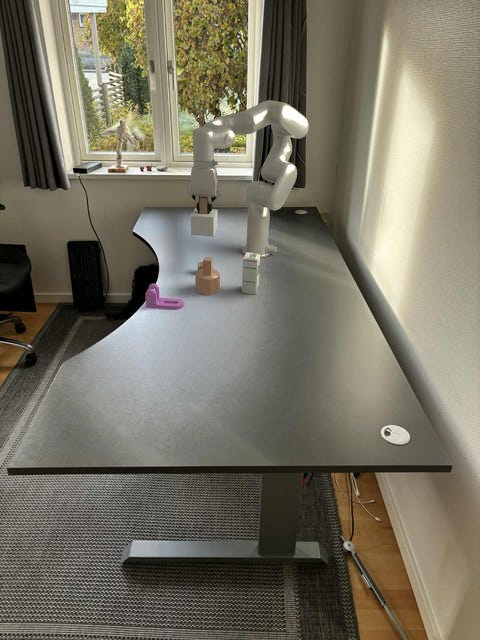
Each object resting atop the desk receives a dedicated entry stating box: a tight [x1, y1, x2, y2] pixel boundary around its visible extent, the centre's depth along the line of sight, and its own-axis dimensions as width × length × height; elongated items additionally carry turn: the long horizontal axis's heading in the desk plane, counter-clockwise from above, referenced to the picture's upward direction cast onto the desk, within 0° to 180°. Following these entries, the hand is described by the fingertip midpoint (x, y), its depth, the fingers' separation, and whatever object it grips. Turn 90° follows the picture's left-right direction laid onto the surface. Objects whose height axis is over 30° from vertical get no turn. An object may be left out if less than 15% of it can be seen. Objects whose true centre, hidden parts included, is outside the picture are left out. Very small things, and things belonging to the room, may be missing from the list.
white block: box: [190, 195, 218, 237], centre depth 189 cm, size 9×9×14 cm
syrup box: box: [241, 252, 261, 295], centre depth 184 cm, size 6×6×14 cm
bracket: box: [145, 283, 185, 310], centre depth 173 cm, size 13×6×7 cm, turn 86°
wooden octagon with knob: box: [194, 256, 221, 296], centre depth 183 cm, size 9×9×13 cm
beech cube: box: [197, 261, 203, 271], centre depth 198 cm, size 4×4×4 cm
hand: (204, 212), depth 188 cm, fingers closed on white block, 3 cm apart
